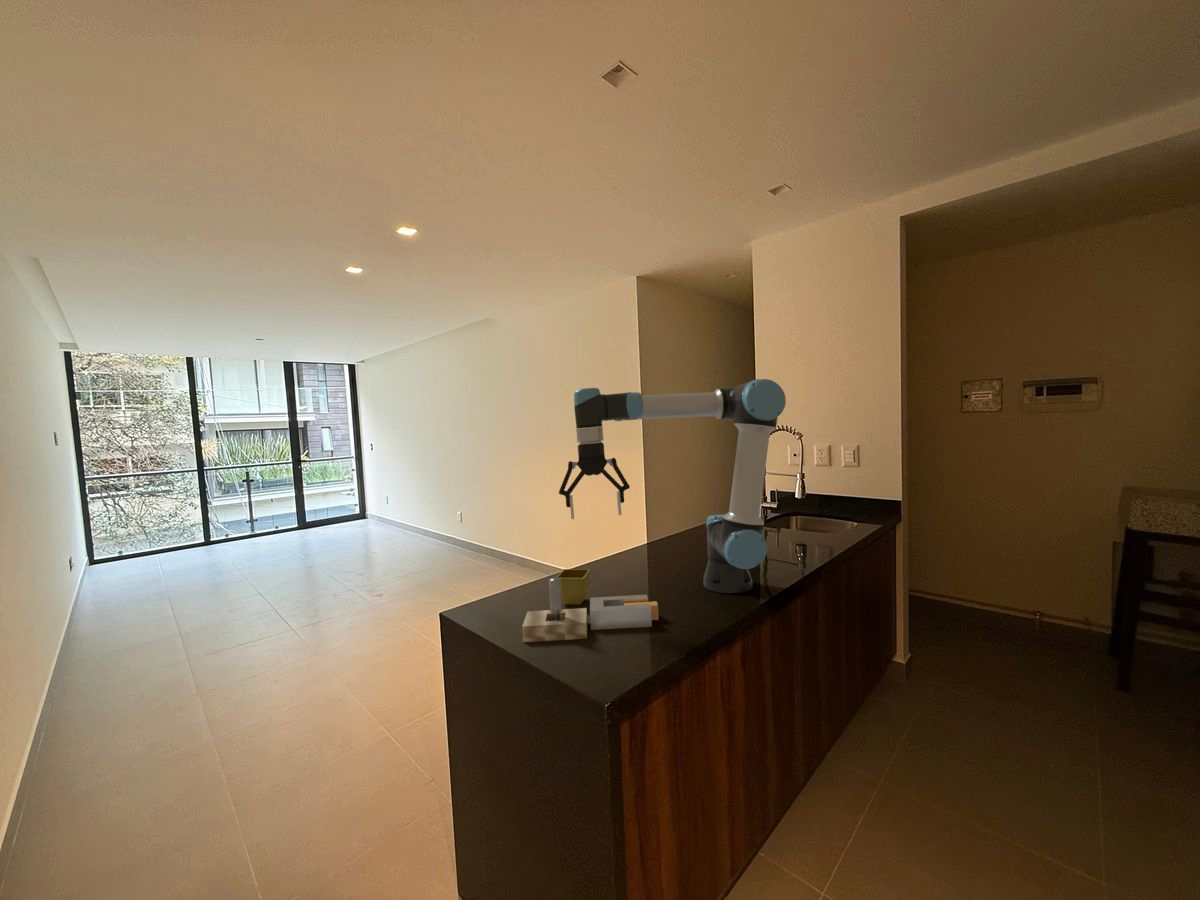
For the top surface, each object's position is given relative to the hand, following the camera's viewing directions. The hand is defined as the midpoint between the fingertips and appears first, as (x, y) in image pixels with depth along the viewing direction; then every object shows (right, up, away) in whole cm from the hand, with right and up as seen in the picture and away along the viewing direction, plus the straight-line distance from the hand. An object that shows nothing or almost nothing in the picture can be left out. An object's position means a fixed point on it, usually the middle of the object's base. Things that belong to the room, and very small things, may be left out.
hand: (596, 516), depth 137 cm
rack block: (-10, -28, -13) cm, 33 cm away
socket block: (+7, -27, -7) cm, 29 cm away
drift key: (+12, -27, -7) cm, 30 cm away
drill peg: (-10, -28, -13) cm, 33 cm away
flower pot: (-7, -28, +8) cm, 30 cm away
